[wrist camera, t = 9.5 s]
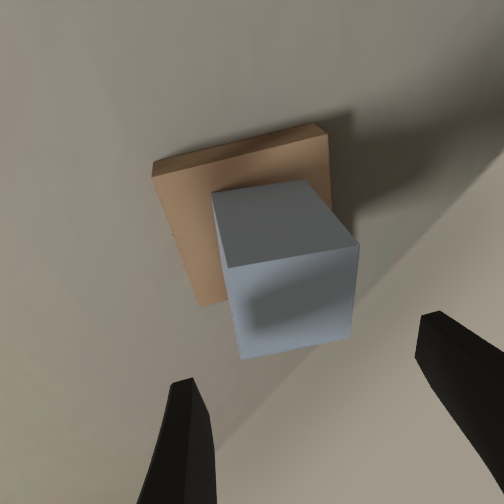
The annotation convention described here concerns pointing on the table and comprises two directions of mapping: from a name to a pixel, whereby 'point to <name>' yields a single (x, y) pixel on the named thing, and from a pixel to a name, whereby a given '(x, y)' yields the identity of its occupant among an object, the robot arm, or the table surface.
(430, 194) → the table surface
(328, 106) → the table surface
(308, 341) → the slate block
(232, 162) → the walnut block
